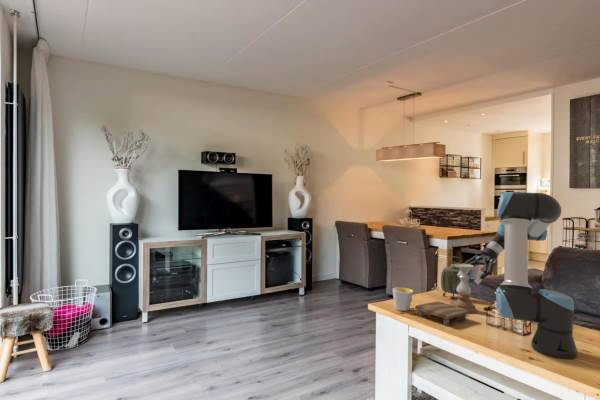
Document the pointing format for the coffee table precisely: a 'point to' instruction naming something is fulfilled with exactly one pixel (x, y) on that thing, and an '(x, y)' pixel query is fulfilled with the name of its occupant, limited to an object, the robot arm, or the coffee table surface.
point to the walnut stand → (442, 311)
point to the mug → (402, 298)
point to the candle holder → (464, 289)
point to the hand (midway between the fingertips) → (467, 279)
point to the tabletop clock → (450, 278)
